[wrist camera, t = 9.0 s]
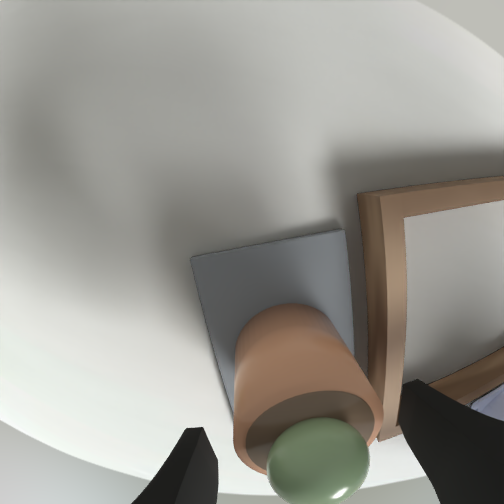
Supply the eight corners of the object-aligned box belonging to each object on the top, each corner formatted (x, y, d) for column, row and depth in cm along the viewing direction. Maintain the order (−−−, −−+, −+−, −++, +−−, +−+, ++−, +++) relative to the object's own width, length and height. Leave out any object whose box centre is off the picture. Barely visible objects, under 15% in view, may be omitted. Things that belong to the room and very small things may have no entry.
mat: (352, 405, 16) (354, 410, 16) (240, 428, 16) (240, 434, 16) (341, 228, 14) (345, 230, 13) (192, 257, 14) (190, 259, 13)
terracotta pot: (340, 378, 15) (400, 507, 6) (246, 397, 15) (252, 542, 6) (334, 292, 14) (432, 418, 5) (224, 314, 14) (208, 472, 5)
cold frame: (523, 342, 16) (541, 355, 14) (366, 416, 16) (378, 442, 14) (537, 173, 13) (561, 175, 11) (356, 193, 13) (379, 196, 11)
